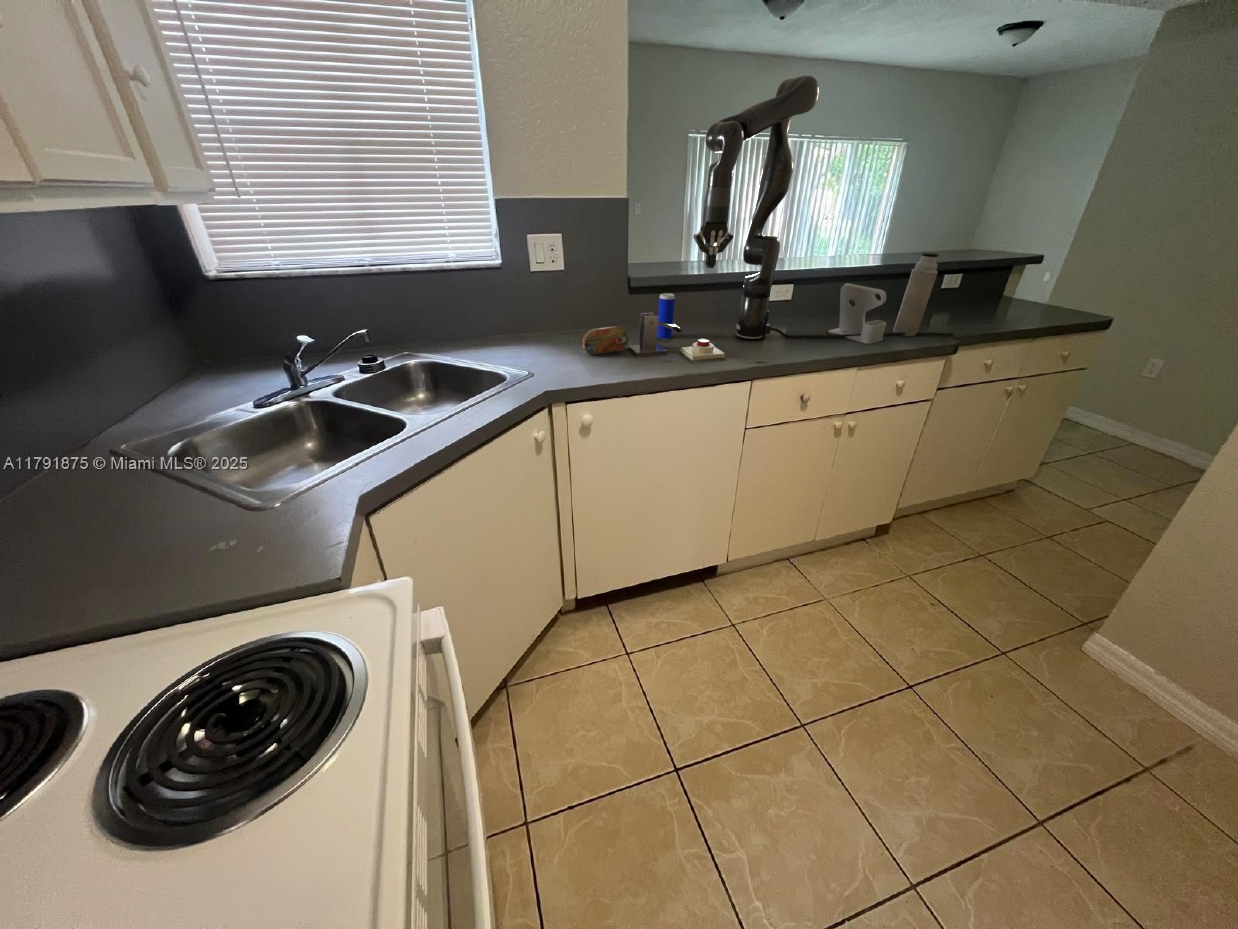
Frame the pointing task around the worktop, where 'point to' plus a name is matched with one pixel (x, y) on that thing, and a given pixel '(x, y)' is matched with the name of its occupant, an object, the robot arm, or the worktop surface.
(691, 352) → the button block
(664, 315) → the beverage can
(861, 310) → the phone holder
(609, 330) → the tin
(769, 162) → the robot arm
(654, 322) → the press bracket
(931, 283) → the thermos bottle
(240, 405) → the worktop surface
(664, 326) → the press lever
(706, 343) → the button
